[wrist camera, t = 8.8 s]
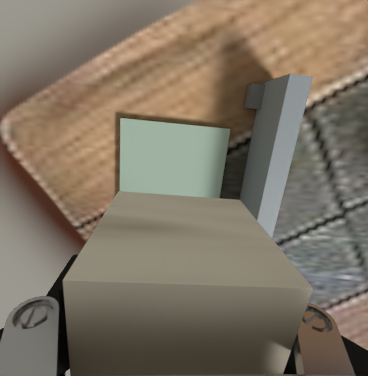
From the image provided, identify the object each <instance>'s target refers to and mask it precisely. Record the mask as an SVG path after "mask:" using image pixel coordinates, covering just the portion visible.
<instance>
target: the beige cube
mask: <svg viewBox="0 0 368 376" xmlns="http://www.w3.org/2000/svg"><path fill="white" fill-rule="evenodd" d="M312 290H313V288H312V287H311V286H310V284H309V283H308V282H307V281H306V280H305V278H304V277H303V276H302V275H301V273H300V272H299V271H298V270H297V269H296V267H295V266H294V265H293V264H292V263H291V261H290V260H289V259H288V258H287V256H286V255H285V254H284V253H283V252H282V250H281V249H280V248H279V247H278V246H277V244H276V243H275V242H274V241H273V239H272V238H271V237H270V236H269V235H268V233H267V232H266V231H265V230H264V229H263V227H262V226H261V225H260V224H259V222H258V221H257V220H256V219H255V218H254V216H253V215H252V214H251V213H250V212H249V210H248V209H247V208H246V207H245V205H244V204H243V203H242V202H241V201H240V200H235V199H221V198H208V197H194V196H180V195H166V194H152V193H138V192H124V191H118V193H117V194H116V196H115V198H114V199H113V201H112V202H111V204H110V205H109V207H108V209H107V210H106V212H105V213H104V215H103V217H102V218H101V220H100V221H99V223H98V225H97V226H96V228H95V229H94V231H93V233H92V234H91V236H90V237H89V239H88V241H87V242H86V244H85V245H84V247H83V249H82V250H81V252H80V253H79V255H78V257H77V258H76V260H75V261H74V263H73V265H72V266H71V268H70V269H69V271H68V273H67V274H66V276H65V277H64V279H63V292H64V303H65V315H66V327H67V339H68V350H69V362H70V374H71V376H128V375H234V374H283V372H284V369H285V367H286V364H287V361H288V358H289V355H290V352H291V350H292V347H293V344H294V341H295V338H296V335H297V333H298V330H299V327H300V324H301V321H302V318H303V315H304V313H305V310H306V307H307V304H308V301H309V298H310V296H311V293H312Z"/></svg>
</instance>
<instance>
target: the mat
mask: <svg viewBox="0 0 368 376" xmlns="http://www.w3.org/2000/svg"><path fill="white" fill-rule="evenodd" d="M229 136H230V129H227V128H217V127H207V126H197V125H187V124H177V123H168V122H158V121H148V120H138V119H128V118H120V191H124V192H138V193H152V194H166V195H180V196H194V197H208V198H220V192H221V186H222V180H223V173H224V167H225V161H226V154H227V148H228V142H229Z"/></svg>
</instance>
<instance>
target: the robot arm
mask: <svg viewBox="0 0 368 376" xmlns="http://www.w3.org/2000/svg"><path fill="white" fill-rule="evenodd" d="M77 257H78V255H73V256H72V257H71V259H70V260H69V262H68V263H67V265H66V267H65V268H64V270H63V271H62V272H61V274H60V276H59V277H58V279H57V280H56V282H55V283H54V285H53V286H52V288H51V289H50V291H49V292H48V294H47V295H46V296H40V297H35V298H32V299H29V300H27V301H25V302H23V303H21V304H20V305H19V306H17V307H16V308H14V309H13V311H12V312H11V313H10V314H9V316H8V318H7V320H6V323H5V327H4V328H2V329H1V330H0V376H65V372H66V371H67V370H68V369H70V362H69V350H68V339H67V327H66V315H65V303H64V292H63V279H64V277H65V276H66V274H67V273H68V271H69V269H70V268H71V266H72V265H73V263H74V261H75V260H76V258H77ZM128 376H368V351H367V350H366V349H364V348H362V347H360V346H359V345H357V344H355V343H354V342H352V341H350V340H348V339H347V338H345V337H343V336H341V335H340V332H339V330H338V327H337V325H336V323H335V321H334V319H333V318H332V317H331V316H330V315H329V314H328V313H327V312H325V311H324V310H323V309H321V308H319V307H318V306H315V305H313V304H310V303H308V304H307V307H306V310H305V313H304V315H303V318H302V321H301V324H300V327H299V330H298V333H297V335H296V338H295V341H294V344H293V347H292V350H291V352H290V355H289V358H288V361H287V364H286V367H285V369H284V372H283V374H234V375H128Z"/></svg>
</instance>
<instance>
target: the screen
mask: <svg viewBox="0 0 368 376" xmlns="http://www.w3.org/2000/svg"><path fill="white" fill-rule="evenodd" d="M311 81H312V77H311V76H303V75H295V74H288V75H285V76H282V77H279V78H276V79H273V80H270V81H267V82H264V83H262V84H255V83H251V84H248V86H247V92H246V98H245V103H244V108H249V109H257V110H256V115H255V121H254V126H253V131H252V136H251V142H250V147H249V152H248V158H247V163H246V168H245V173H244V179H243V184H242V189H241V194H240V201H241V202H242V203H243V204H244V205H245V207H246V208H247V209H248V210H249V212H250V213H251V214H252V215H253V216H254V218H255V219H256V220H257V221H258V222H259V224H260V225H261V226H262V227H263V229H264V230H265V231H266V232H267V233H268V235H269V236H270V237H271V238H272V236H273V232H274V228H275V224H276V220H277V216H278V212H279V208H280V204H281V200H282V196H283V192H284V188H285V184H286V180H287V176H288V172H289V168H290V164H291V161H292V157H293V153H294V149H295V145H296V141H297V137H298V133H299V129H300V125H301V121H302V117H303V113H304V109H305V105H306V101H307V97H308V93H309V89H310V85H311Z"/></svg>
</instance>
